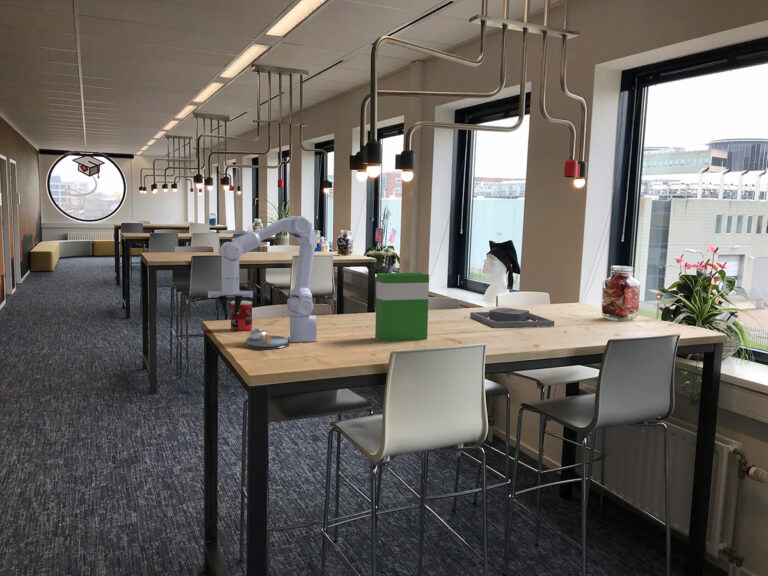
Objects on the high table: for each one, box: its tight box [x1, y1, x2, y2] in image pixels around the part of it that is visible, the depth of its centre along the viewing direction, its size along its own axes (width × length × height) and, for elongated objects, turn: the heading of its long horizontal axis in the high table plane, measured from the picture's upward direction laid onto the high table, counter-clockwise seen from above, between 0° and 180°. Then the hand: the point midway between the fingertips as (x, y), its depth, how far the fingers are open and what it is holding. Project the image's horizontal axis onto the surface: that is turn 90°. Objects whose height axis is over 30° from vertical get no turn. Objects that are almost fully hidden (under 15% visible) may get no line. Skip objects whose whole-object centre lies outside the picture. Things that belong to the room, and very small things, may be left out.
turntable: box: [245, 332, 289, 347], centre depth 212 cm, size 15×14×4 cm
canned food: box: [230, 300, 253, 332], centre depth 239 cm, size 8×8×11 cm
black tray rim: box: [469, 311, 555, 329], centre depth 273 cm, size 27×27×2 cm
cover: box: [248, 328, 268, 341], centre depth 212 cm, size 6×6×4 cm
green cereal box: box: [374, 272, 430, 342], centre depth 228 cm, size 18×7×24 cm, turn 111°
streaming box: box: [488, 307, 530, 322], centre depth 273 cm, size 14×14×5 cm
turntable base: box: [244, 341, 290, 351], centre depth 213 cm, size 15×15×1 cm
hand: (230, 318), depth 209 cm, fingers open, 2 cm apart
